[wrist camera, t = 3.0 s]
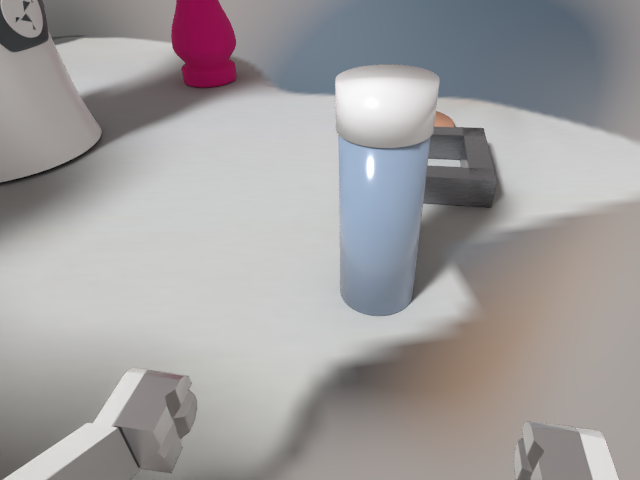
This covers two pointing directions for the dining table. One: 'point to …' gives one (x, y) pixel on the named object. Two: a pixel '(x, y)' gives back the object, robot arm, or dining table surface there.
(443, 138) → the rail
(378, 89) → the shaker
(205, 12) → the pepper mill
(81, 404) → the dining table surface
